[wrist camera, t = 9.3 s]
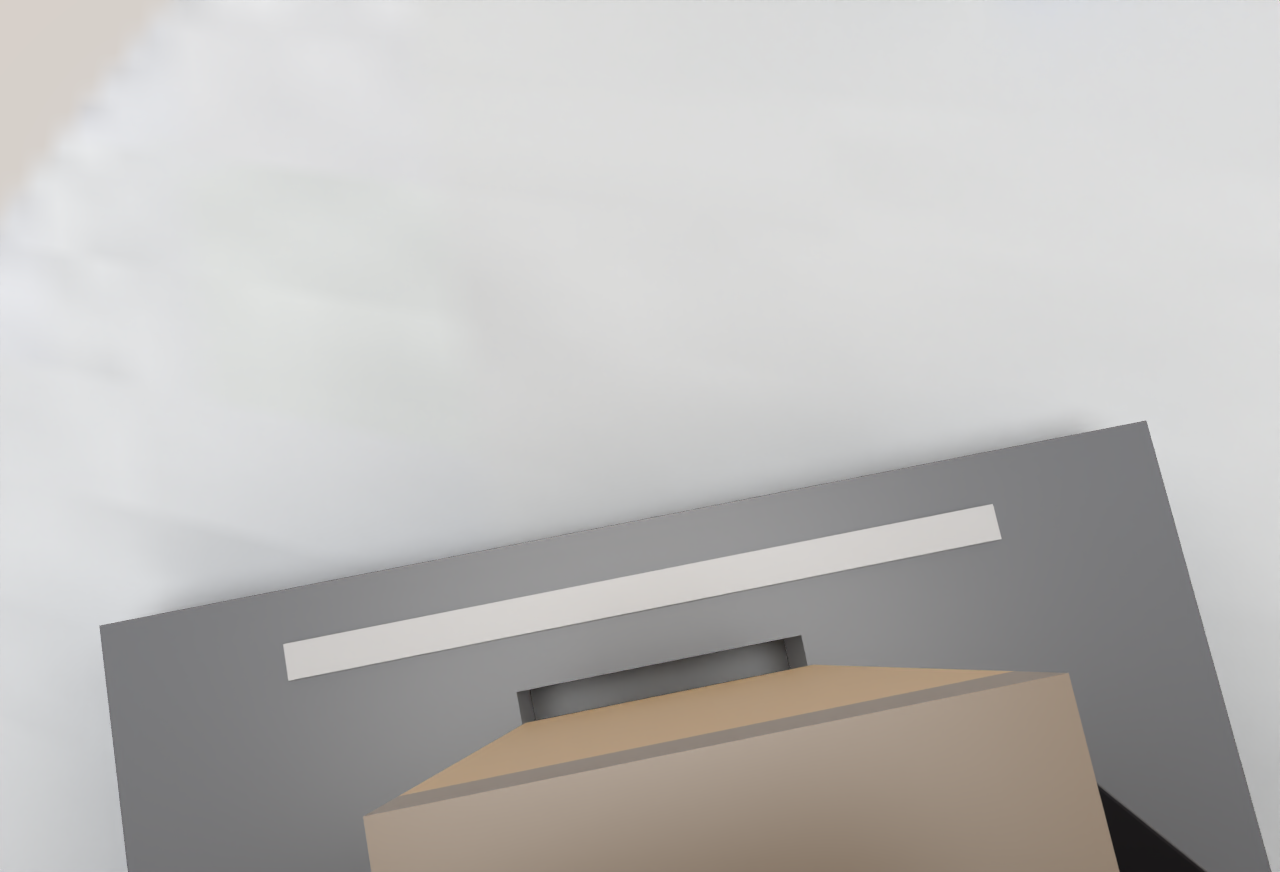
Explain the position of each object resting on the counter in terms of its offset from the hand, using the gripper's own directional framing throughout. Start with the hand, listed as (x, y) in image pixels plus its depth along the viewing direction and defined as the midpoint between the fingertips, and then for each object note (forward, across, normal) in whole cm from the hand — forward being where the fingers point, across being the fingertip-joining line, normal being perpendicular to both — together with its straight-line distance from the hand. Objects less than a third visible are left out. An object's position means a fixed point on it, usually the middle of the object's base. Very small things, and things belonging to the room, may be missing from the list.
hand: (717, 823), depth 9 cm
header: (+9, 0, +10) cm, 13 cm away
